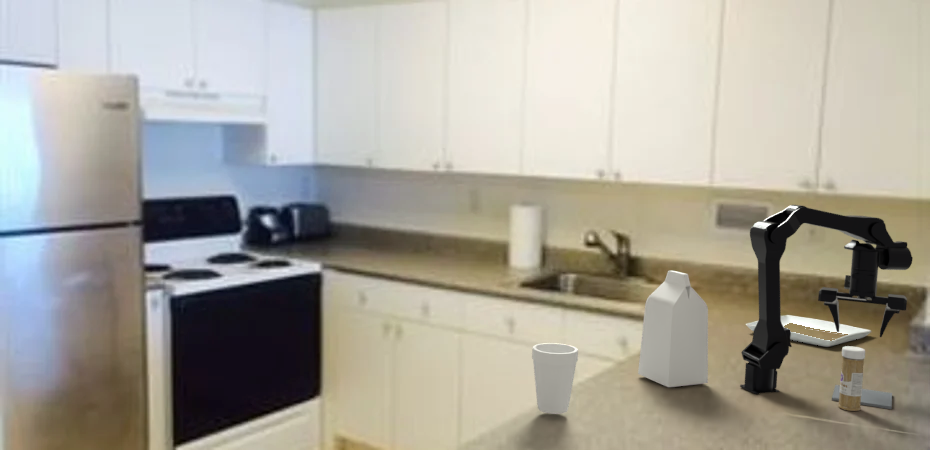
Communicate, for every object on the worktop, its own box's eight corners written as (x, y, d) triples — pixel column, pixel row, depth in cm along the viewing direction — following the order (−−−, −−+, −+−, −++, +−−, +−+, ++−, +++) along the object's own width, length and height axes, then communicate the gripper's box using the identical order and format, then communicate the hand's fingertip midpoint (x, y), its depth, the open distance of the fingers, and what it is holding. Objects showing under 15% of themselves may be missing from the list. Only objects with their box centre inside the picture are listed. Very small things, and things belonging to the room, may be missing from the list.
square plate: (831, 353, 233) (832, 339, 232) (742, 335, 253) (743, 322, 253) (872, 340, 251) (873, 328, 250) (786, 324, 271) (787, 313, 271)
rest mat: (891, 409, 180) (891, 406, 180) (831, 400, 186) (831, 397, 186) (891, 395, 191) (892, 393, 191) (835, 387, 197) (835, 384, 197)
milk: (637, 373, 204) (643, 269, 201) (676, 370, 208) (681, 268, 206) (668, 387, 193) (674, 277, 190) (707, 383, 197) (713, 275, 195)
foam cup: (584, 412, 172) (587, 350, 171) (549, 418, 167) (552, 355, 166) (555, 399, 180) (558, 341, 179) (521, 405, 175) (523, 345, 174)
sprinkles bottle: (833, 405, 182) (838, 345, 181) (853, 405, 183) (857, 345, 181) (845, 412, 178) (849, 350, 176) (865, 411, 178) (869, 350, 177)
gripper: (909, 269, 198) (903, 333, 199) (824, 262, 207) (819, 323, 208) (909, 275, 188) (903, 342, 189) (820, 266, 197) (815, 331, 198)
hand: (859, 334), depth 197 cm, fingers open, 9 cm apart
